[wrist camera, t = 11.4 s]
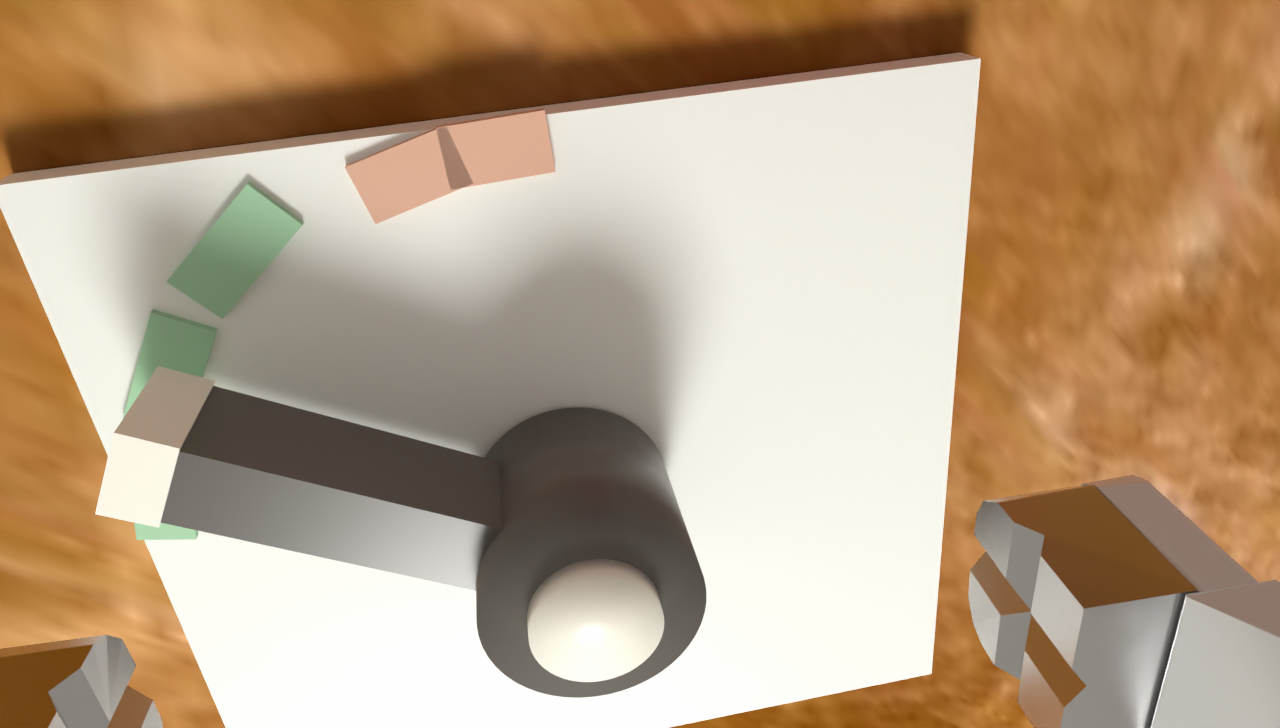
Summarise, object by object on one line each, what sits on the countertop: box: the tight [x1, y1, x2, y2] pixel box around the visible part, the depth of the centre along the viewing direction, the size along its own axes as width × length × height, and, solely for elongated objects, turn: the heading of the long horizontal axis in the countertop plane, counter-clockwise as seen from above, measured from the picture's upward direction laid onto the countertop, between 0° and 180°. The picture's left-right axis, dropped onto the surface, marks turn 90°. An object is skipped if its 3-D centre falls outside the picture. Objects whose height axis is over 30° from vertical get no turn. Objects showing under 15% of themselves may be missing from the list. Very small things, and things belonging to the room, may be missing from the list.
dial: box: [95, 366, 706, 698], centre depth 21 cm, size 13×5×5 cm, turn 66°
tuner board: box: [0, 52, 981, 728], centre depth 25 cm, size 22×20×1 cm
